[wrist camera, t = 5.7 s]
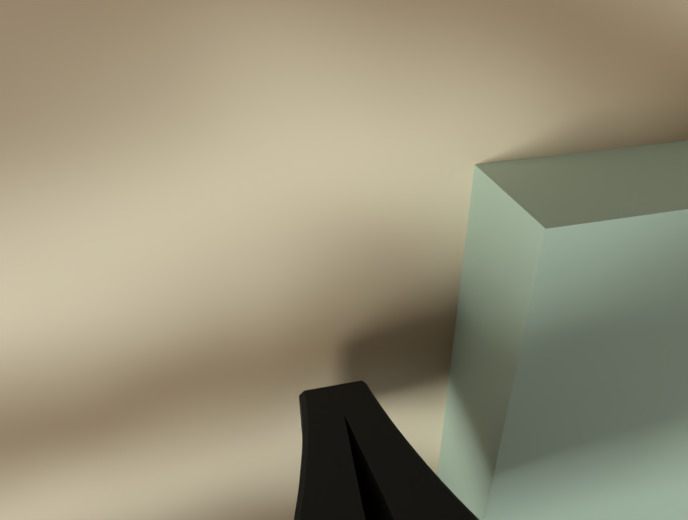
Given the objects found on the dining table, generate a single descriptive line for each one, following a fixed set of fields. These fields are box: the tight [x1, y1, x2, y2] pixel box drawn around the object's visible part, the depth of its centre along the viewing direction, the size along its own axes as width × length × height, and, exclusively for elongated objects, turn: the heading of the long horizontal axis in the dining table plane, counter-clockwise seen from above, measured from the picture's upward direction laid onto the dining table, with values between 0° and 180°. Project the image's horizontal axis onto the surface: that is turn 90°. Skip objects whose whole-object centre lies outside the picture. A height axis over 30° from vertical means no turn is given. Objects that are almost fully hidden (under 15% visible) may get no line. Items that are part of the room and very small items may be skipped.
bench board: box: [0, 0, 688, 520], centre depth 13 cm, size 18×28×1 cm, turn 91°
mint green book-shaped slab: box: [437, 140, 688, 520], centre depth 13 cm, size 10×8×2 cm
